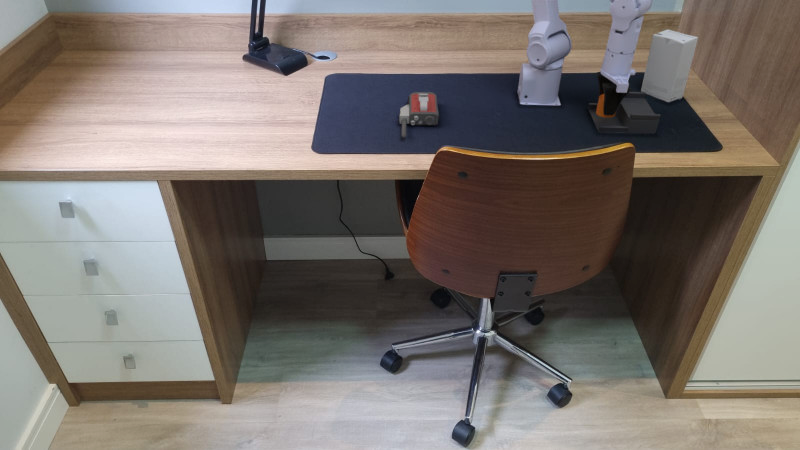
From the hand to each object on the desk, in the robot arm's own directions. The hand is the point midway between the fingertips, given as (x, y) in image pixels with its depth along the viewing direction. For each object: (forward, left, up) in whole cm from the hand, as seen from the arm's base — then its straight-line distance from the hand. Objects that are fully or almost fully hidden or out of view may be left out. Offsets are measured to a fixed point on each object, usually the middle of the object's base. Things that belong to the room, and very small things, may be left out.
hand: (606, 109), depth 125 cm
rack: (+4, 0, -3) cm, 5 cm away
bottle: (0, 0, -1) cm, 1 cm away
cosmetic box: (+17, +15, -3) cm, 23 cm away
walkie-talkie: (-41, -2, -3) cm, 42 cm away
